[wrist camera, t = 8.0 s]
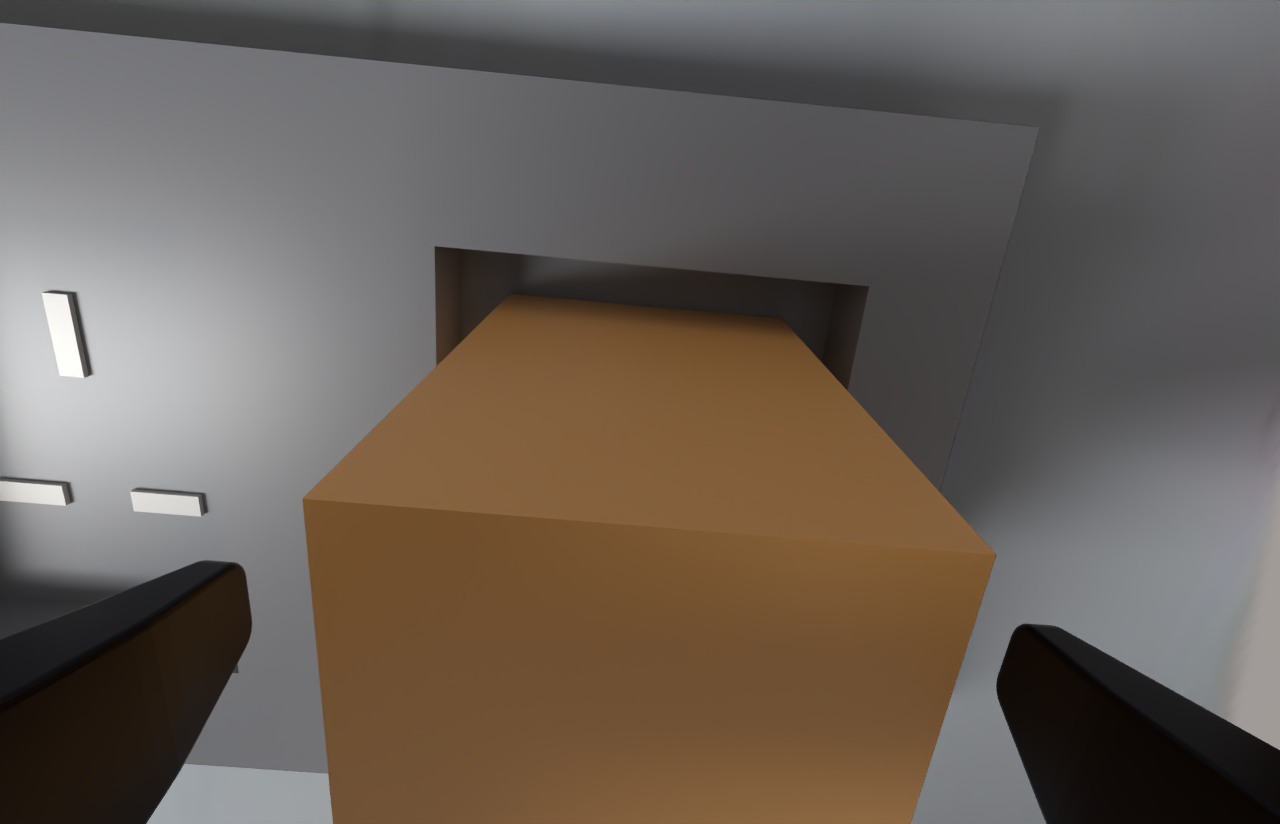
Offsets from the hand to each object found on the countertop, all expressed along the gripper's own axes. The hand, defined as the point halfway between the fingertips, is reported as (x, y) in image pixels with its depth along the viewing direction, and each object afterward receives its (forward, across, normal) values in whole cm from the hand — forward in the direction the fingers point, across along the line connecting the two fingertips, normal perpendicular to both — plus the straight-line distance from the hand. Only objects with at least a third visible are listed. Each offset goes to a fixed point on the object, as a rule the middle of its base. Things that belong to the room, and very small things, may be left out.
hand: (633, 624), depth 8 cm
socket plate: (+5, +5, 0) cm, 7 cm away
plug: (+4, 0, +2) cm, 4 cm away
